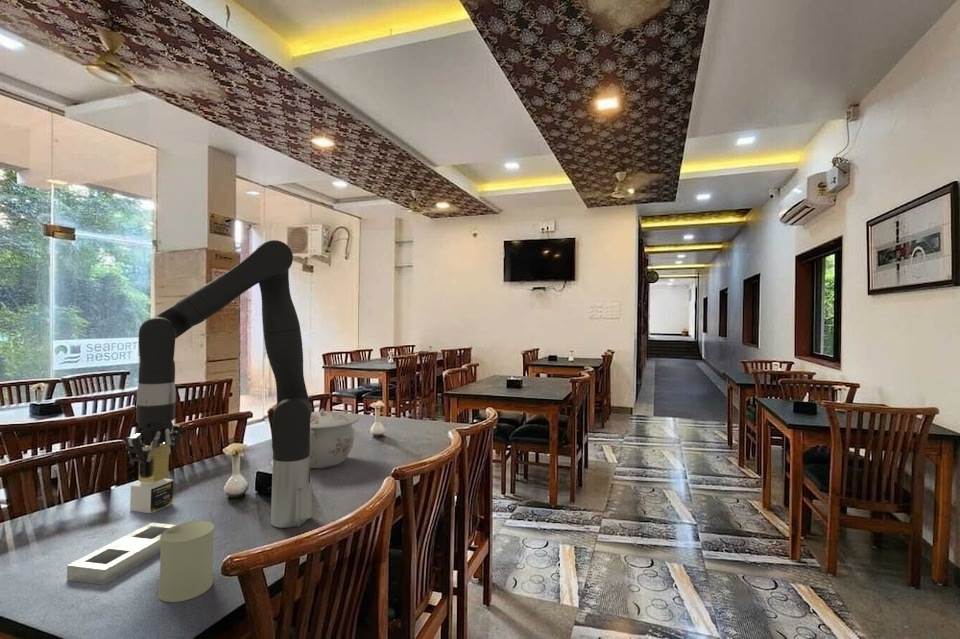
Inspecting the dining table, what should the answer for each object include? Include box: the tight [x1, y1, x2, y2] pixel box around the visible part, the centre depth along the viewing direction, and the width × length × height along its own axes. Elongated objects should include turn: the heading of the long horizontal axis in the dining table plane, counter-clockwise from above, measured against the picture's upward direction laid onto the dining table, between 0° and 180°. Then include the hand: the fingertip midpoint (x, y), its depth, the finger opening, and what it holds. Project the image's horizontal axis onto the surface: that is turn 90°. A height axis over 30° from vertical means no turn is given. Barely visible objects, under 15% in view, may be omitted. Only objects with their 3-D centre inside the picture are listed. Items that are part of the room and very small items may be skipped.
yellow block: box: [138, 443, 170, 483], centre depth 107 cm, size 4×4×8 cm
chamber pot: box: [309, 408, 360, 469], centre depth 170 cm, size 28×28×21 cm
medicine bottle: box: [129, 478, 174, 514], centre depth 128 cm, size 7×7×12 cm
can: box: [157, 520, 215, 603], centre depth 90 cm, size 9×9×12 cm
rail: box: [66, 522, 177, 586], centre depth 101 cm, size 9×20×3 cm, turn 172°
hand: (154, 473), depth 107 cm, fingers closed on yellow block, 4 cm apart
